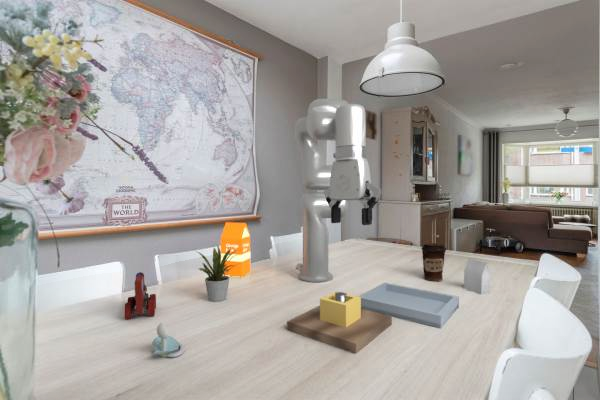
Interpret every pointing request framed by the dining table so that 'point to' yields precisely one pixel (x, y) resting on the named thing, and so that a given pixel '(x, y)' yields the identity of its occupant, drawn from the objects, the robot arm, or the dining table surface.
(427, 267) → the coffee cup
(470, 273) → the grey house shaped block
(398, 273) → the dining table surface
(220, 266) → the house plant
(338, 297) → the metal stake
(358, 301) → the collar
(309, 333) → the board
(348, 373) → the dining table surface
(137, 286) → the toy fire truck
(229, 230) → the orange juice
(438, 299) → the tray
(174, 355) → the pacifier
